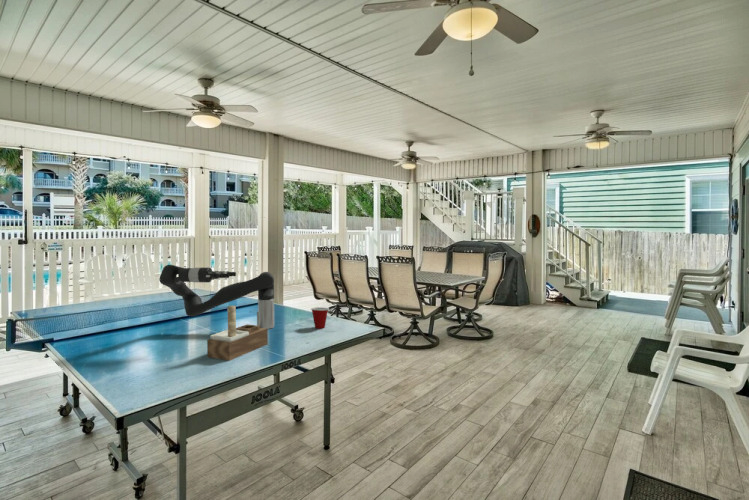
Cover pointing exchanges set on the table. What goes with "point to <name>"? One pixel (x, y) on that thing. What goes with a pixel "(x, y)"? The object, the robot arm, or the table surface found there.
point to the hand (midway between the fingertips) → (232, 274)
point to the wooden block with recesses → (238, 343)
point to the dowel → (231, 321)
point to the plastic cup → (319, 316)
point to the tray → (224, 337)
